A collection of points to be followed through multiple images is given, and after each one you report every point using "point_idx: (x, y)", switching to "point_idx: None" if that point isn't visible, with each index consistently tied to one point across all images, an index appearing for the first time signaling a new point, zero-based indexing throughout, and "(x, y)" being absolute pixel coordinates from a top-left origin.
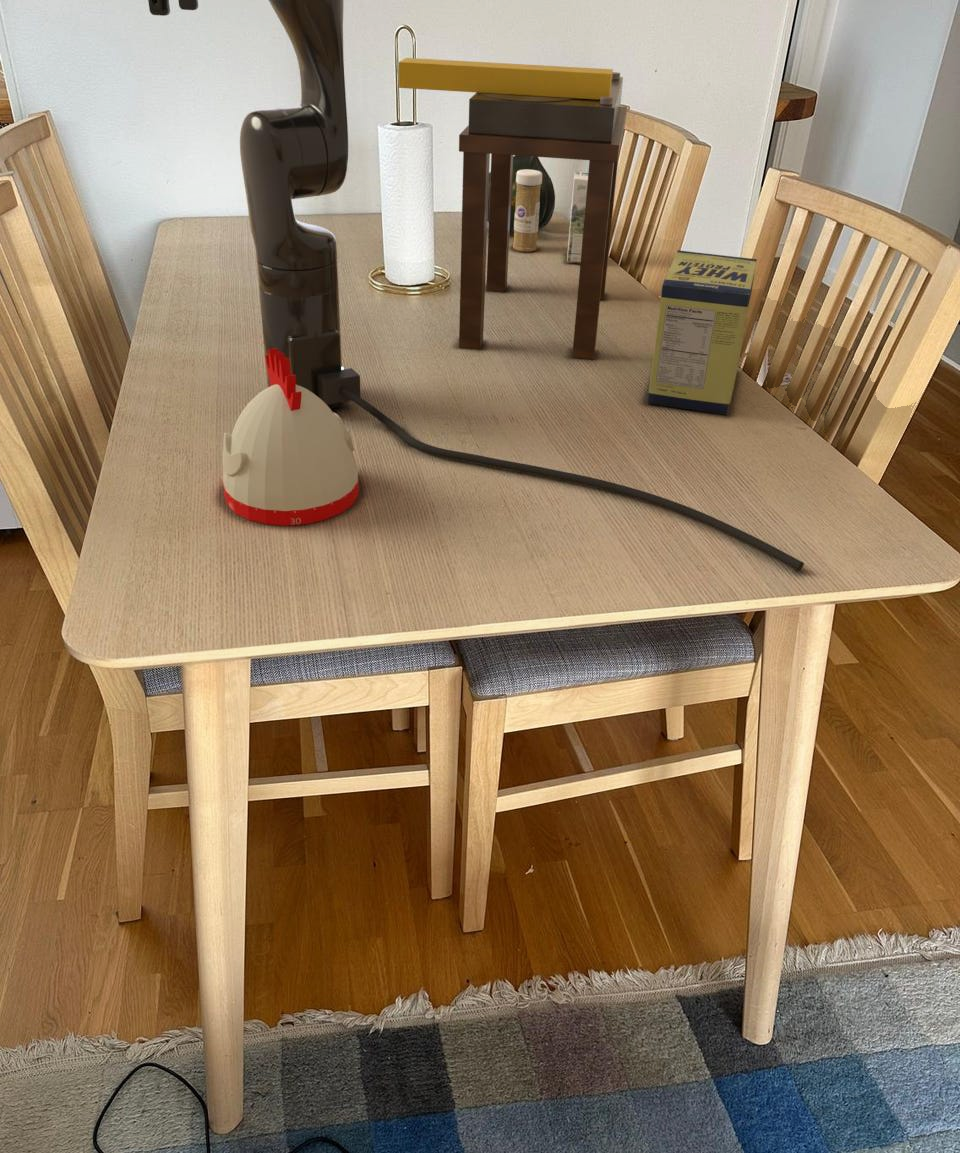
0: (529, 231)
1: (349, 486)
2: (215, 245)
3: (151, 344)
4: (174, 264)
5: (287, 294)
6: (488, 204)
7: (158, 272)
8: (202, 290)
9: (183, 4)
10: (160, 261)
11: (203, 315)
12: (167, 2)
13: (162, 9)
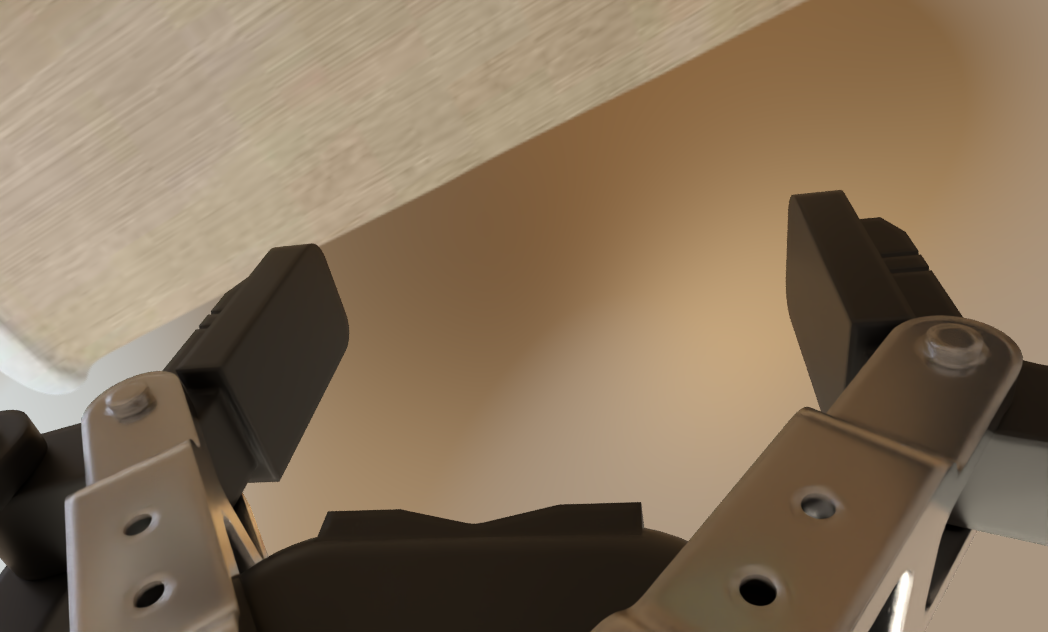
0: None
1: None
2: (122, 230)
3: (691, 35)
4: (266, 240)
5: None
6: None
7: (322, 242)
8: (364, 111)
9: (336, 326)
10: None
11: (496, 26)
12: (838, 222)
13: (879, 219)
